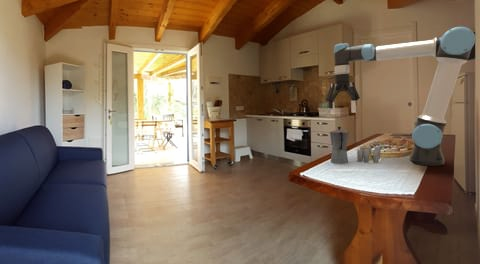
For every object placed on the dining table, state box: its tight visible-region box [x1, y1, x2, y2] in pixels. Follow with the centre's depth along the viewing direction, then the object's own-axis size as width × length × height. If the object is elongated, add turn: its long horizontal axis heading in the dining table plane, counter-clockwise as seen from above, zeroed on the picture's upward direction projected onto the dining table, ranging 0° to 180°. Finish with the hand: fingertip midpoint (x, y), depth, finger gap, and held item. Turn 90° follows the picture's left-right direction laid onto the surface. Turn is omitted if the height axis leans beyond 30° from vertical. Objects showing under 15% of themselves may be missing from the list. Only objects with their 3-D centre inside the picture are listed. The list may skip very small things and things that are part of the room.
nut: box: [363, 152, 373, 161], centre depth 159 cm, size 5×5×3 cm
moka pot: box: [329, 126, 349, 165], centre depth 156 cm, size 10×15×20 cm, turn 174°
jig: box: [356, 145, 382, 164], centre depth 159 cm, size 11×12×7 cm
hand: (343, 113), depth 159 cm, fingers open, 13 cm apart
